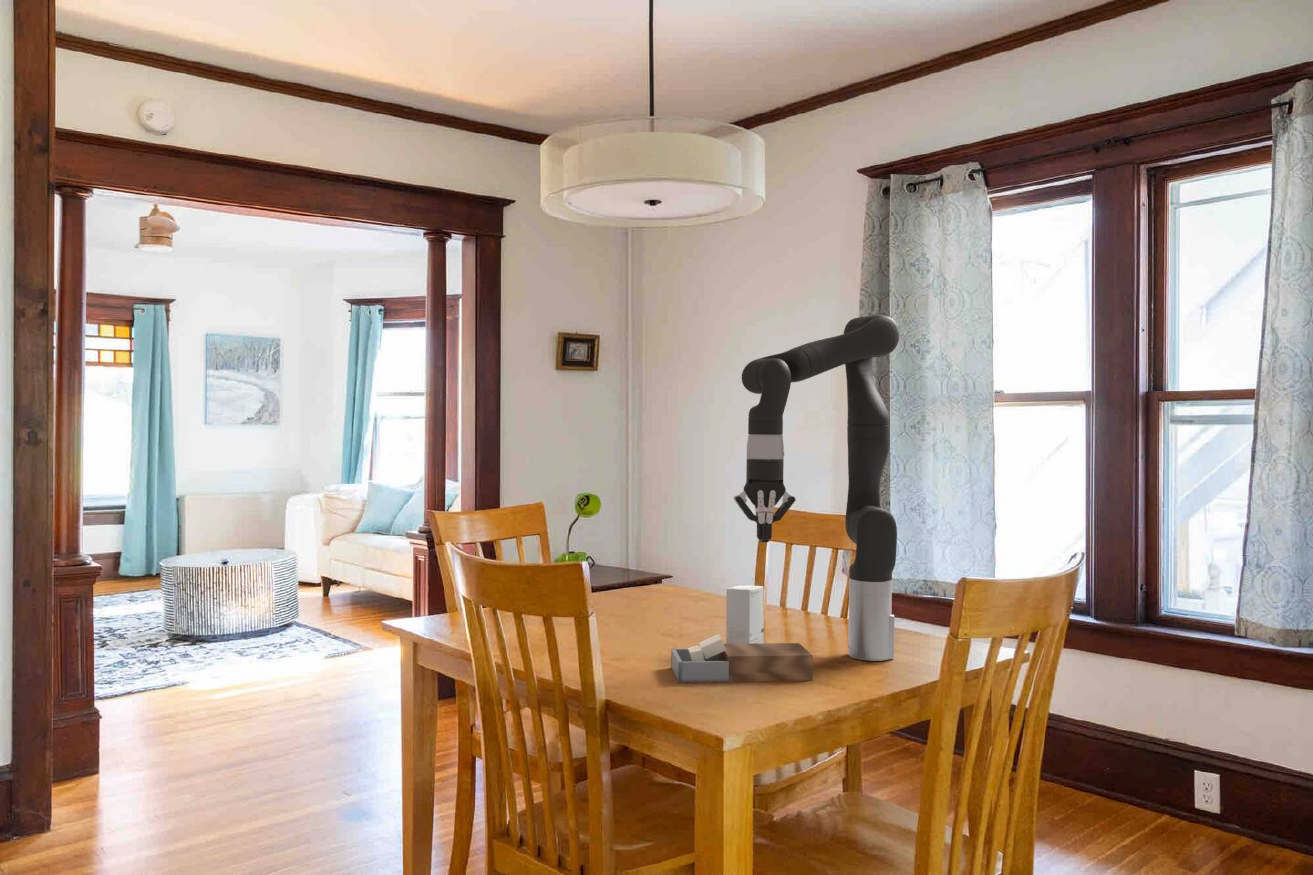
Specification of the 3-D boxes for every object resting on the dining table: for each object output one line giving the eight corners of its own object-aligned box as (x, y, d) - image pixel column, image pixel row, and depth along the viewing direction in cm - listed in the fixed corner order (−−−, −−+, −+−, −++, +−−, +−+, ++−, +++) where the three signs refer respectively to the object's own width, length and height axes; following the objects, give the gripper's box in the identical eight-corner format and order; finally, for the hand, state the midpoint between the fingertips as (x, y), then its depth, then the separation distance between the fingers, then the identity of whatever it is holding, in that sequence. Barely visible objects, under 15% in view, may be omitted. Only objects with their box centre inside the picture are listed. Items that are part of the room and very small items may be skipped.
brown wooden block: (798, 666, 201) (798, 642, 201) (812, 680, 190) (812, 655, 190) (718, 667, 199) (719, 643, 199) (728, 681, 188) (728, 656, 188)
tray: (718, 667, 200) (718, 647, 200) (728, 682, 188) (728, 661, 188) (671, 667, 199) (671, 648, 199) (678, 682, 187) (678, 662, 187)
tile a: (723, 644, 197) (719, 633, 197) (726, 650, 193) (721, 638, 193) (703, 653, 197) (699, 642, 197) (706, 659, 193) (701, 647, 192)
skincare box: (749, 658, 208) (750, 590, 208) (724, 654, 211) (725, 587, 211) (764, 650, 215) (765, 585, 215) (740, 647, 218) (741, 582, 218)
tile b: (699, 644, 196) (687, 647, 196) (702, 649, 191) (690, 652, 191) (704, 666, 196) (692, 669, 196) (707, 671, 191) (695, 674, 191)
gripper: (792, 456, 199) (791, 539, 199) (729, 456, 197) (728, 539, 197) (801, 457, 191) (800, 544, 191) (736, 457, 190) (735, 544, 190)
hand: (763, 541), depth 194 cm, fingers closed
